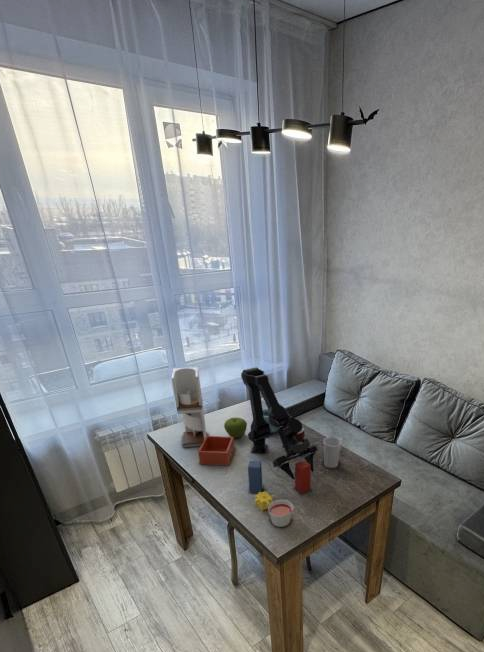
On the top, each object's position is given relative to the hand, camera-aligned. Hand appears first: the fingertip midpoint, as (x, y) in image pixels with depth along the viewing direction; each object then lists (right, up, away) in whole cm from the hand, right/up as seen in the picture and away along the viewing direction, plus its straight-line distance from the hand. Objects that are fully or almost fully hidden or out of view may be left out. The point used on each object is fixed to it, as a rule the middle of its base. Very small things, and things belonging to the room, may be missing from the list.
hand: (303, 475), depth 159 cm
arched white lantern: (-55, +14, +33) cm, 65 cm away
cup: (+11, +3, +21) cm, 24 cm away
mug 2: (-5, +10, +31) cm, 33 cm away
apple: (-36, +16, +38) cm, 54 cm away
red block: (-1, -6, +4) cm, 7 cm away
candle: (-8, -16, -12) cm, 21 cm away
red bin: (-41, +7, +22) cm, 47 cm away
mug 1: (-20, +18, +43) cm, 51 cm away
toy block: (-15, -11, -5) cm, 19 cm away
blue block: (-20, -6, +3) cm, 21 cm away
